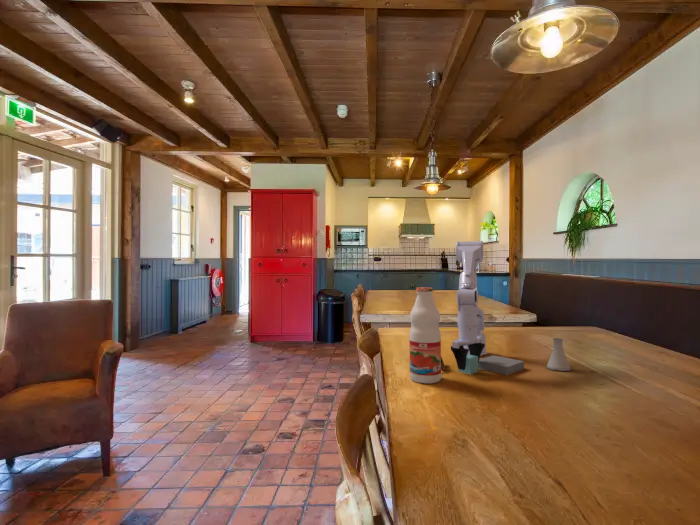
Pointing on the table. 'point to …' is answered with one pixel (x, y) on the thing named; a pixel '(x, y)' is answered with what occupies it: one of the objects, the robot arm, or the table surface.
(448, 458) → the table surface
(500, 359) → the gray base
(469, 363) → the teal block
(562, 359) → the flask
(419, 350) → the fruit juice
